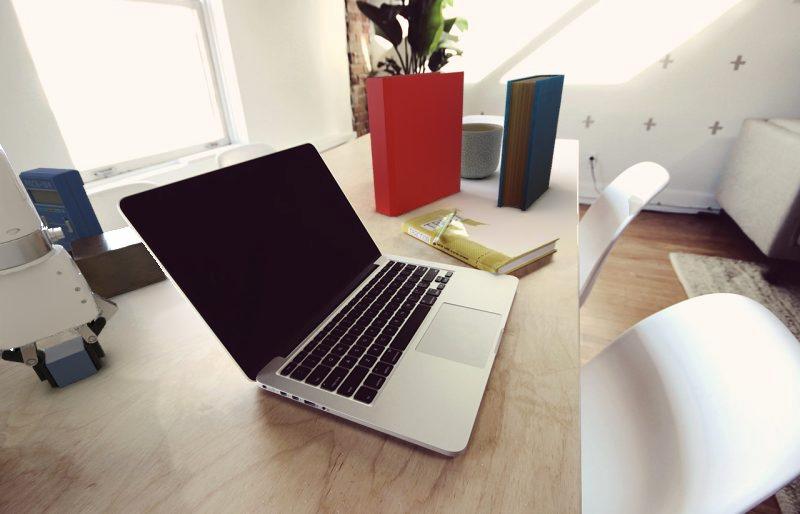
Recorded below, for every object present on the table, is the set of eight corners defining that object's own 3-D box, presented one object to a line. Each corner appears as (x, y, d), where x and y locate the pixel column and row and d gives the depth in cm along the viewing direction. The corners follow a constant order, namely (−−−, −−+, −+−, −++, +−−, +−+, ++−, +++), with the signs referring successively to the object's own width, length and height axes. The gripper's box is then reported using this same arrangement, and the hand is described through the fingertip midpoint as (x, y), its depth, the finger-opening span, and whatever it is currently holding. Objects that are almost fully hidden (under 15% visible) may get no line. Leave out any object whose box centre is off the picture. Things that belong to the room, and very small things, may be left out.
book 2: (522, 182, 119) (533, 74, 105) (551, 185, 114) (567, 73, 100) (492, 206, 101) (500, 80, 87) (525, 211, 97) (540, 80, 83)
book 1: (439, 186, 118) (440, 71, 103) (460, 191, 113) (464, 71, 98) (373, 210, 102) (362, 78, 87) (393, 217, 96) (386, 78, 82)
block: (60, 388, 49) (45, 364, 47) (58, 371, 52) (44, 349, 50) (97, 372, 51) (84, 349, 49) (94, 357, 54) (82, 335, 52)
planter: (438, 173, 131) (438, 126, 124) (477, 165, 138) (479, 121, 131) (468, 185, 118) (470, 133, 111) (510, 176, 125) (514, 127, 118)
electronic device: (63, 269, 78) (13, 173, 69) (87, 258, 83) (44, 166, 73) (97, 274, 76) (50, 175, 67) (120, 262, 80) (80, 168, 71)
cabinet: (95, 302, 67) (74, 260, 63) (88, 281, 74) (69, 241, 70) (166, 278, 73) (151, 239, 69) (154, 261, 80) (140, 224, 76)
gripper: (93, 220, 50) (142, 331, 59) (-97, 264, 41) (-6, 389, 49) (100, 237, 45) (153, 355, 54) (-115, 291, 36) (-10, 425, 44)
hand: (76, 370), depth 51 cm, fingers closed on block, 4 cm apart
